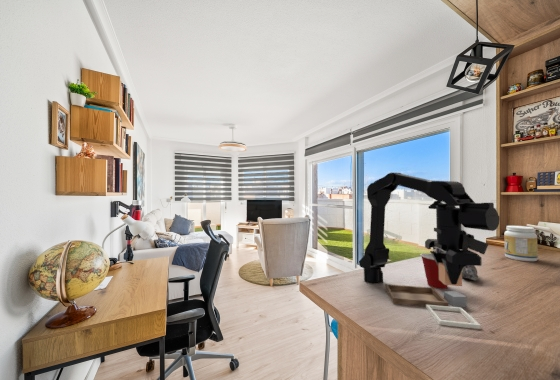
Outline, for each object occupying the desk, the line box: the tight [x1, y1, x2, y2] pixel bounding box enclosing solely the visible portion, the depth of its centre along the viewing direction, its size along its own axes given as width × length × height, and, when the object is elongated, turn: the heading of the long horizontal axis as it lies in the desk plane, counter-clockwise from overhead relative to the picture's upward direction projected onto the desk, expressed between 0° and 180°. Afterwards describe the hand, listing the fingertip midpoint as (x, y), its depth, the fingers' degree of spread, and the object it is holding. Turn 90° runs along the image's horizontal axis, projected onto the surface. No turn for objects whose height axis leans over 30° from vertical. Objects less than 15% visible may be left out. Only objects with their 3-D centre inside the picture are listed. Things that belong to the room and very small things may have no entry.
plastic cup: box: [420, 253, 449, 290], centre depth 86 cm, size 11×11×12 cm
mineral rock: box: [462, 265, 479, 281], centre depth 96 cm, size 13×11×10 cm
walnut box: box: [384, 283, 450, 308], centre depth 76 cm, size 15×11×2 cm
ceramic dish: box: [425, 304, 482, 330], centre depth 64 cm, size 9×9×2 cm
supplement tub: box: [503, 225, 539, 262], centre depth 122 cm, size 12×12×17 cm
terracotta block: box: [438, 262, 463, 287], centre depth 64 cm, size 4×4×5 cm
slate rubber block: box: [443, 290, 468, 308], centre depth 72 cm, size 4×4×4 cm
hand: (449, 281), depth 64 cm, fingers closed on terracotta block, 4 cm apart
